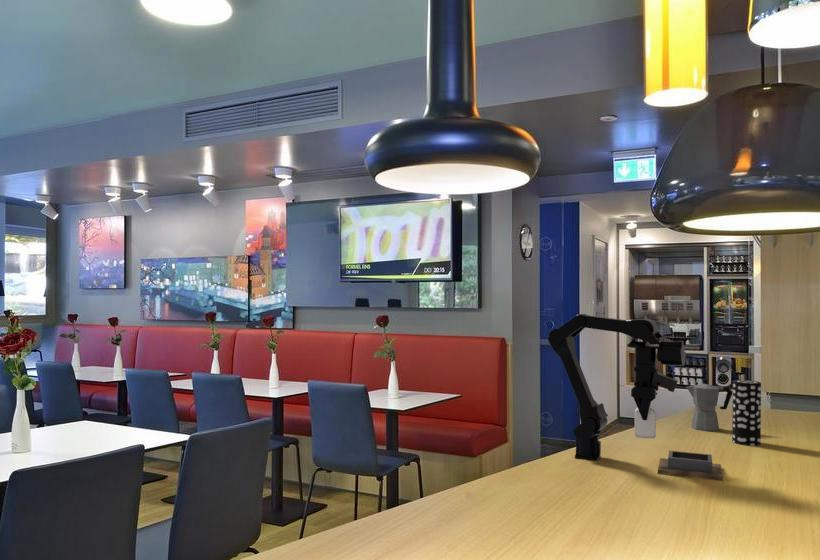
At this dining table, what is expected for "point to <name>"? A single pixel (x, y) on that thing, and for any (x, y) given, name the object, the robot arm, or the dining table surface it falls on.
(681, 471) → the socket board
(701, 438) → the dining table surface
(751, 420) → the white-spotted black cylinder
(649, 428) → the eye dropper bottle
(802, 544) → the dining table surface
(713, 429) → the coffeepot
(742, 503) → the dining table surface
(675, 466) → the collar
